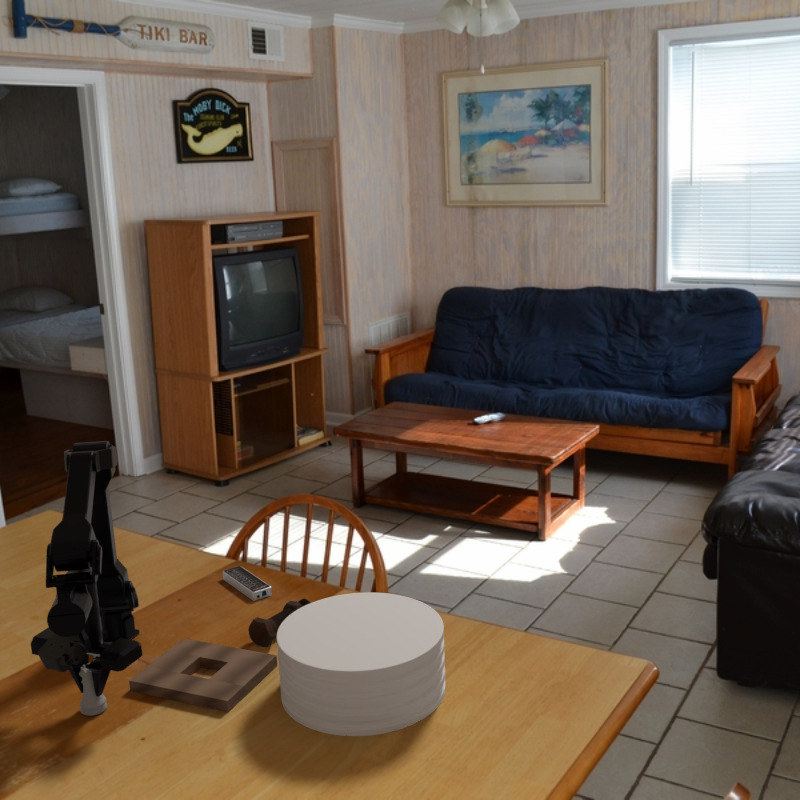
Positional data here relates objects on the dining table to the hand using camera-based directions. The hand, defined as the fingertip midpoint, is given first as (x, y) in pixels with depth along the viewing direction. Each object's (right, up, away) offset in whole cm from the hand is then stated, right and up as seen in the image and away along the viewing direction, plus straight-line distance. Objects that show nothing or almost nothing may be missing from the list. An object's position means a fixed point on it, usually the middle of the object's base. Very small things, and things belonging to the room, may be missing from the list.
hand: (91, 693), depth 164 cm
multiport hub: (+19, +9, +46) cm, 50 cm away
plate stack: (+45, -1, +4) cm, 45 cm away
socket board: (+17, 0, +9) cm, 19 cm away
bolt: (+29, +4, +26) cm, 40 cm away
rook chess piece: (0, -3, +1) cm, 3 cm away
